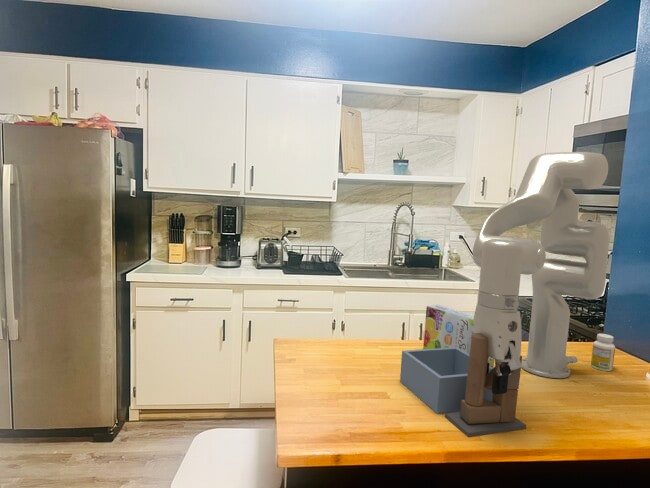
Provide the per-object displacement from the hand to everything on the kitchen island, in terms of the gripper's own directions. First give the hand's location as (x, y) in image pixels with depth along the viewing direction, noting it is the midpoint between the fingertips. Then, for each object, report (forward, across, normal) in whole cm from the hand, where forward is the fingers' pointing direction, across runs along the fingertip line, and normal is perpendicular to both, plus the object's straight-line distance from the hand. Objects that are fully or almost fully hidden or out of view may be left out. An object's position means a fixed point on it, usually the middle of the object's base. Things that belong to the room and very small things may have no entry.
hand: (489, 386), depth 89 cm
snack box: (+9, +31, -14) cm, 35 cm away
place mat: (+8, 0, 0) cm, 8 cm away
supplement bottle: (+9, +20, -56) cm, 60 cm away
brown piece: (+7, 0, 0) cm, 7 cm away
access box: (+8, +14, 0) cm, 17 cm away
